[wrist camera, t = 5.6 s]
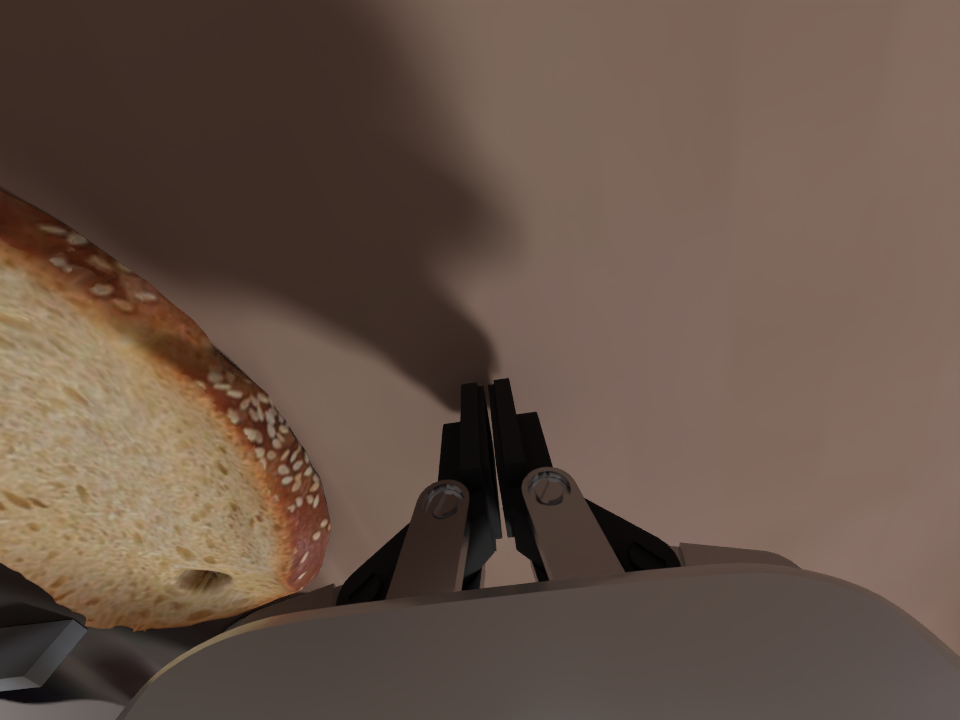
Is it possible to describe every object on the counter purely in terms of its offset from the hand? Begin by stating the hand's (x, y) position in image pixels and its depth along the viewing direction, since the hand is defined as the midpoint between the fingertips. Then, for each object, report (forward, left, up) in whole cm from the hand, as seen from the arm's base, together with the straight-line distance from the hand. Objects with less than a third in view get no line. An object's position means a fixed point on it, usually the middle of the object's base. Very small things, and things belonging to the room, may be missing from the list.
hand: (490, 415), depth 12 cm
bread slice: (+15, 0, -2) cm, 15 cm away
